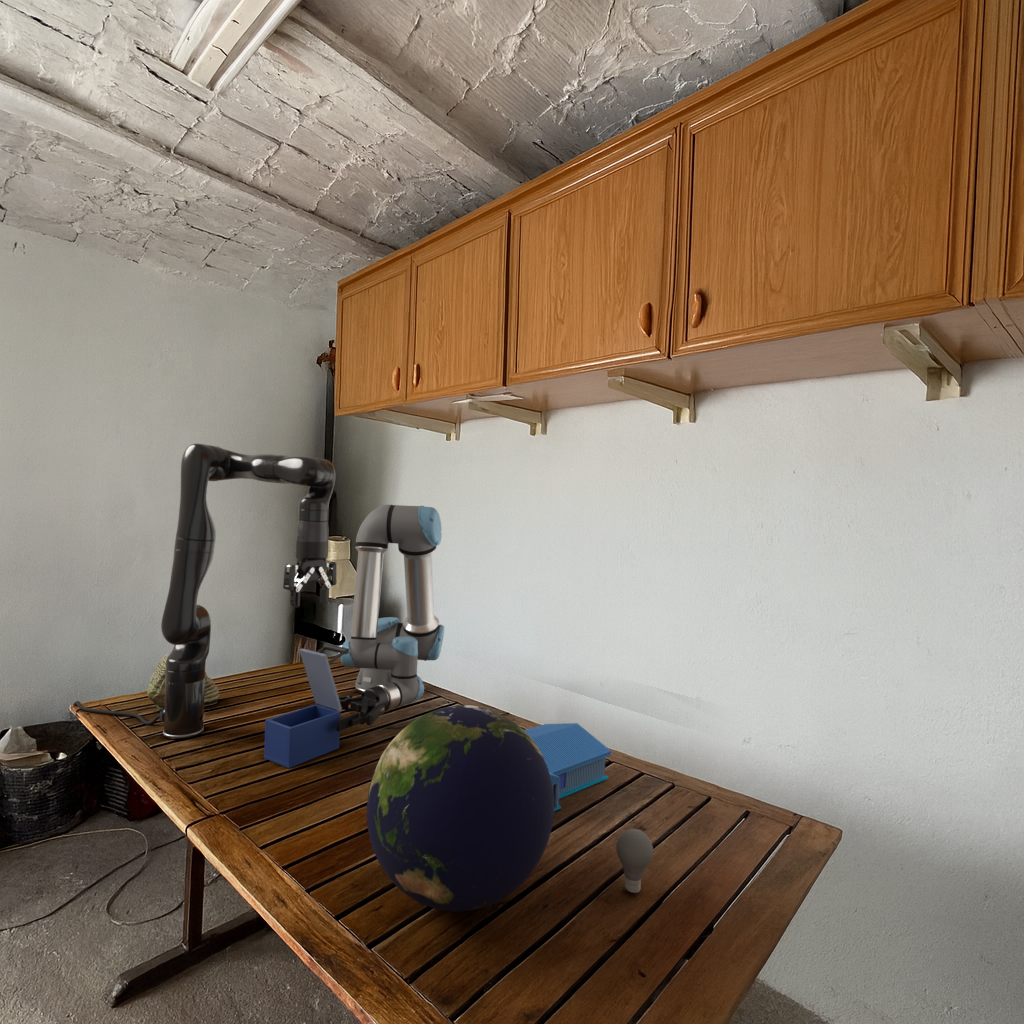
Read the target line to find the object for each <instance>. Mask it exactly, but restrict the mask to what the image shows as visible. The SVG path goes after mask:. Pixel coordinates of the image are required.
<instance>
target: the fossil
mask: <svg viewBox="0 0 1024 1024" xmlns="http://www.w3.org/2000/svg"><path fill="white" fill-rule="evenodd" d="M169 655H170V654H165V655H164V656H163V657H162V658H161V659H160V660H159V662H158V663H157V666H156V667H155V669H154V670H153V672H152V675H151V677H150V680H149V684H148V688H147V697H148V699H149V700H150V701H152V703H153V704H154V706H155V711H158V712H160V711H164V705H165V674H166V659H167V657H168V656H169ZM220 698H221V696H220V690H219V688H218V686H217V685H216V683H215V682H214V681H213V679H212V678H211V677H209V675H208V674H207V672H206V671H205V693H204V707H207V706H213V705H215V704H217V703H218V701H219V699H220Z"/></svg>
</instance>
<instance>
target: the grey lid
mask: <svg viewBox="0 0 1024 1024" xmlns="http://www.w3.org/2000/svg"><path fill="white" fill-rule="evenodd" d="M324 651H330V652H334V653H338V654H336V655H335V656H333V657H332V658H331V659H328V655H327V654H326V653H323V652H324ZM299 653H300V657H301V661H302V664H303V667H304V670H305V673H306V677H307V680H308V684H309V687H310V690H311V693H312V697H313V700H314V704H320V705H323V706H326V707H329V708H332V709H336V710H337V711H340V712H341V711H342V710H341V709H342V707H341V704H340V700H339V697H338V696H339V694H338V690H337V686H336V683H335V680H334V676H333V673H332V670H331V666H330V665H332V664H333V663H334V662H336V661H337V660H338V659H341V656H342V655H344V654H348V653H349V649H348V648H344V647H342V646H339V645H334V644H332V643H331V644H330V643H324V644H323V646H322V647H321V648H319V649H318V650H317V651H314V650H311V649H306V648H300V649H299Z"/></svg>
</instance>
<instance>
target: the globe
mask: <svg viewBox="0 0 1024 1024" xmlns="http://www.w3.org/2000/svg"><path fill="white" fill-rule="evenodd" d="M524 730H525V729H523V728H522V727H521V726H520V725H518V723H516V722H514V721H513V720H512V719H510V718H508V717H507V716H505V715H503V714H501V713H499V712H497V711H494V710H493V709H489V708H485V707H482V706H477V705H469V704H468V705H467V704H465V705H452V706H446V707H442V708H438V709H435V710H432V711H429V712H428V713H425V714H423V715H422V716H419V717H417V718H416V719H415V720H413V721H411V722H409V724H407V725H406V726H405V727H404V728H402V729H401V731H399V733H398V734H396V736H395V737H394V738H393V739H392V740H391V741H390V742H389V743H388V745H387V747H385V749H384V751H382V754H381V755H380V758H379V760H378V762H377V763H376V766H375V769H374V771H373V774H372V777H371V780H370V783H369V787H368V788H369V789H368V794H367V801H366V822H367V832H368V836H369V840H370V844H371V847H372V851H373V853H374V855H375V857H376V859H377V861H378V864H379V865H380V867H381V869H382V870H383V872H384V873H385V875H386V876H387V877H388V878H389V880H390V881H391V883H393V884H394V885H395V886H396V887H397V888H398V890H400V891H401V892H402V893H404V894H405V895H406V896H408V897H409V898H410V899H412V900H413V901H415V902H417V903H419V904H421V905H424V906H426V907H428V908H429V907H430V908H431V909H436V910H439V911H445V912H455V913H456V912H471V911H475V910H479V909H483V908H486V907H489V906H491V905H494V904H496V903H499V902H500V901H502V900H503V899H505V898H506V897H508V896H509V895H511V894H512V893H514V892H515V891H516V890H517V889H518V888H519V887H520V886H522V885H523V884H524V882H526V880H527V879H528V878H529V877H530V875H532V873H533V871H534V870H535V869H536V867H537V866H538V864H539V863H540V860H541V859H542V857H543V855H544V853H545V850H546V848H547V846H548V843H549V841H550V837H551V833H552V827H553V823H554V814H555V811H554V794H553V786H552V782H551V777H550V774H549V770H548V767H547V765H546V763H545V760H544V757H543V755H542V753H541V752H540V750H539V748H538V747H537V745H536V744H535V742H534V741H533V740H532V739H531V737H530V736H529V735H528V734H527V733H526V732H525V731H524Z"/></svg>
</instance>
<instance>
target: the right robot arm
mask: <svg viewBox="0 0 1024 1024" xmlns="http://www.w3.org/2000/svg"><path fill="white" fill-rule="evenodd" d="M442 534H443V533H442V522H441V516H440V513H439V512H438V510H437V509H436V508H435V507H432V506H424V505H403V504H402V505H400V504H384V505H380V506H378V507H376V508H375V509H373V510H372V511H371V512H370V513H369V514H368V515H367V516H366V517H365V518H364V520H363V521H362V522H361V524H360V526H359V528H358V531H357V534H356V538H355V545H354V546H355V547H354V548H355V550H356V551H357V552H358V553H357V562H356V563H357V564H356V574H355V585H354V596H353V605H352V606H353V608H352V619H351V630H350V640H346V641H344V642H343V643H342V645H341V647H344V648H348V649H349V653H348V654H344V655H342V656H341V657H340V661H341V664H342V666H344V667H346V668H356V669H359V672H358V674H357V677H356V680H355V683H354V690H355V692H357V693H359V694H361V695H357V696H354V697H353V694H351V693H349V694H345V695H338V697H339V700H340V704H341V707H342V709H341V710H340V711H346V712H356V713H353V714H350V715H347V716H344V717H342V718H341V717H340V719H339V720H337V731H340V732H342V731H344V730H348V729H349V728H352V727H356V726H357V725H365V724H366V725H367V726H371V725H373V723H375V721H377V719H378V718H379V717H380V716H382V715H385V713H388V712H389V711H391V710H394V709H396V708H399V707H402V706H405V705H408V704H412V703H415V702H416V701H417V700H419V699H420V698H422V696H423V695H424V692H425V685H424V683H423V682H424V681H423V679H422V678H421V677H420V676H419V675H418V661H424V662H426V661H437V660H438V659H439V657H440V655H441V652H442V647H443V642H444V637H445V625H443V624H440V621H439V618H438V617H437V616H436V615H435V610H434V608H435V607H434V582H433V581H434V580H433V578H434V577H433V576H434V575H433V553H435V551H436V549H437V546H439V545H441V541H442V537H443V536H442ZM389 544H397V548H398V552H399V553H400V554H402V555H403V567H404V568H403V569H404V582H405V583H404V585H405V600H406V601H405V602H406V617H405V618H404V620H403V621H402V622H401V621H400V618H399V617H395V616H388V617H379V614H380V606H381V605H380V603H381V591H382V581H383V580H382V579H383V567H384V556H385V554H386V552H387V551H388V549H389ZM315 704H316V703H314V704H309V705H307V706H303V707H301V708H300V709H302V708H306V707H309V706H312V705H315ZM317 705H320V704H317ZM321 706H323V705H321ZM349 706H350V707H349ZM324 707H326V706H324ZM327 708H329V707H327ZM330 709H332V708H330ZM333 710H336V709H333Z"/></svg>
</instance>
